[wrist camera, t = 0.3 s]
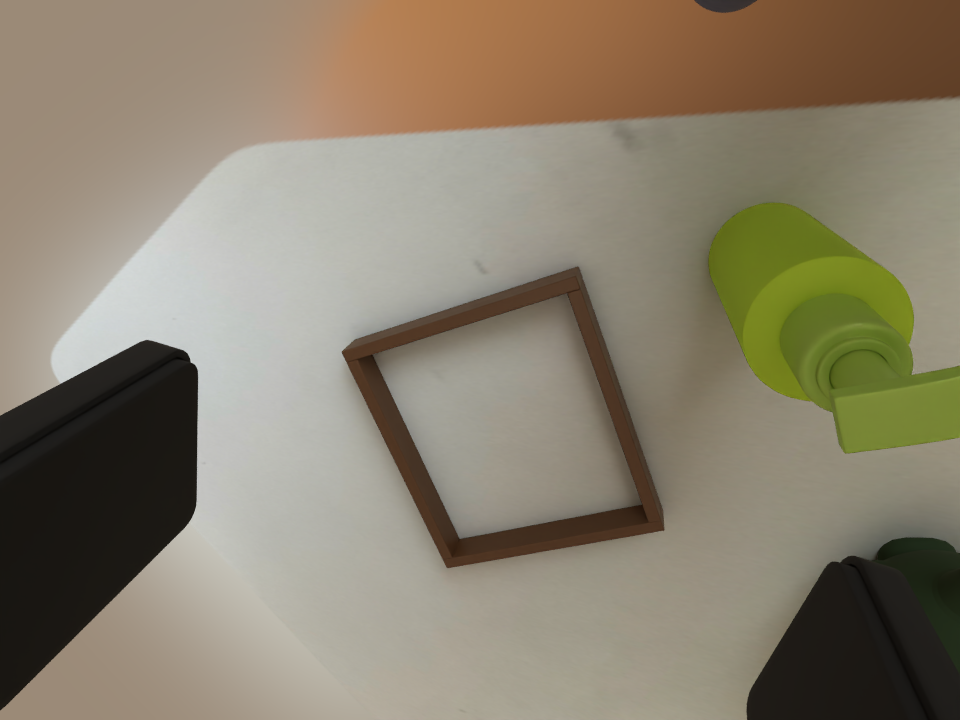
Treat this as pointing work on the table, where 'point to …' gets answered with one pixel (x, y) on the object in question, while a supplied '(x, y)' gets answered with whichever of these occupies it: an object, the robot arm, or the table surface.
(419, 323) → the tray
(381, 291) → the table surface
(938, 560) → the toy figurine
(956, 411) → the soap dispenser
